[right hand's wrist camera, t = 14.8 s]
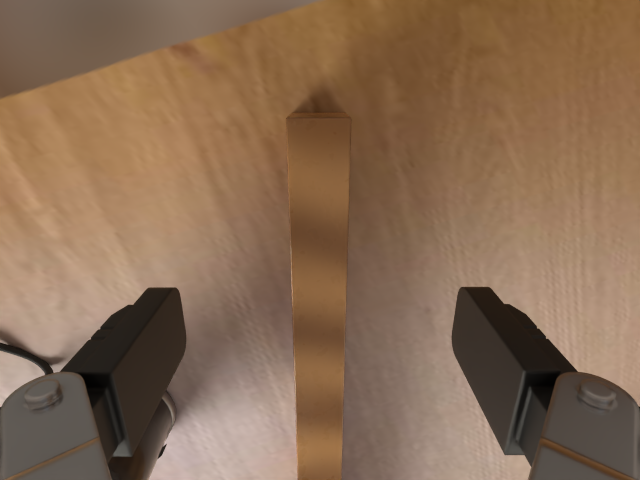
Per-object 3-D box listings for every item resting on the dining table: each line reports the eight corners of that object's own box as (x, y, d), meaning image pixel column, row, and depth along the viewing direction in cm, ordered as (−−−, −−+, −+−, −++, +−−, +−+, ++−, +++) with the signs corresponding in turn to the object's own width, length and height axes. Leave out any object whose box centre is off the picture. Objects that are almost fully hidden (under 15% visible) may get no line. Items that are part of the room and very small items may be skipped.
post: (291, 112, 32) (286, 117, 27) (345, 112, 32) (351, 117, 27) (305, 612, 59) (303, 667, 53) (334, 612, 59) (336, 667, 53)
